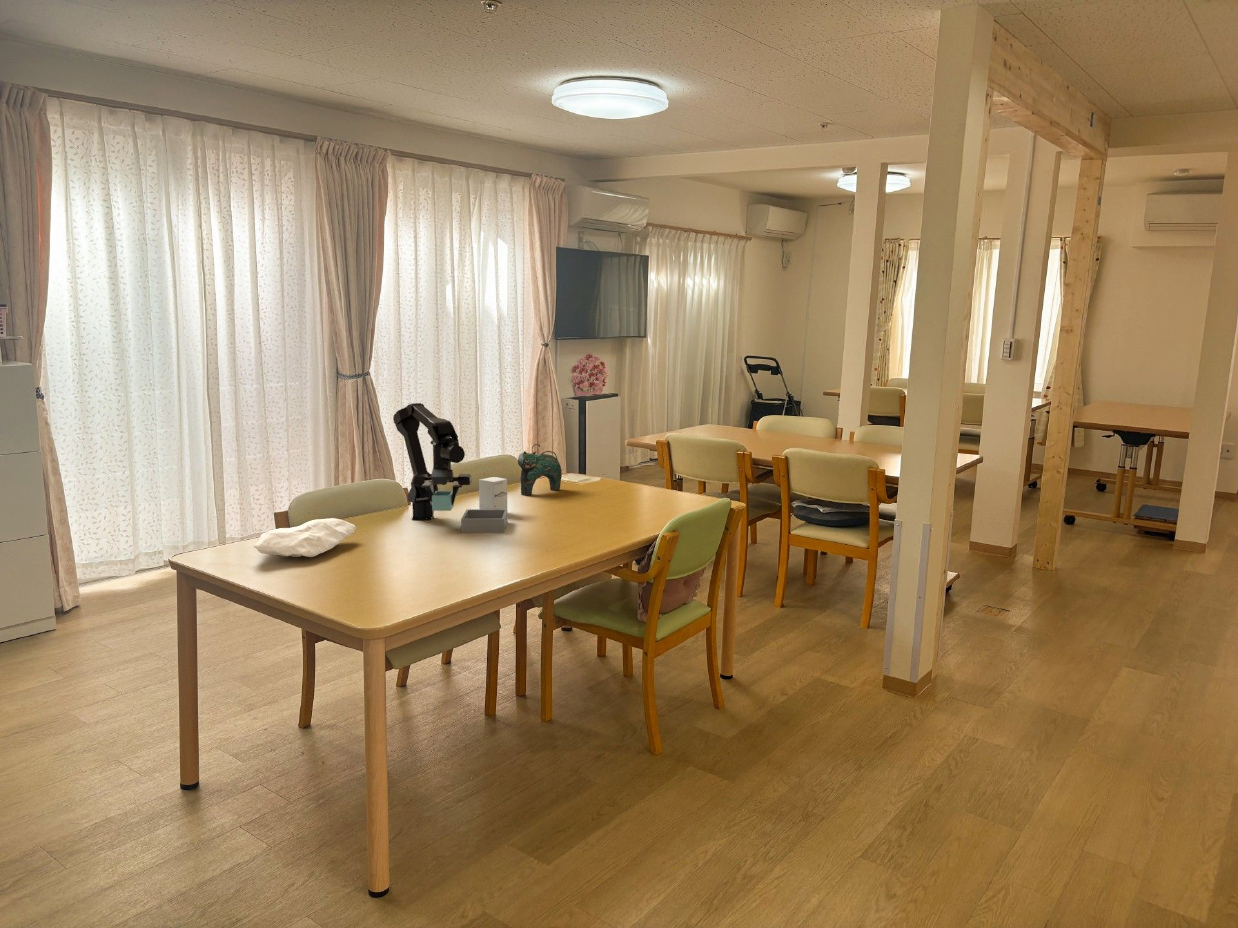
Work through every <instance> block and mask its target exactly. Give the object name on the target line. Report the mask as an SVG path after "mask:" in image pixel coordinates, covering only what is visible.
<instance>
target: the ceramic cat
mask: <svg viewBox="0 0 1238 928" xmlns="http://www.w3.org/2000/svg"><path fill="white" fill-rule="evenodd" d="M535 446H538V447H539V448H540V447H541V445H540V444H538V443H535V444H533V445H532V447H531V452H526V450H524V451H523V452H521V453H520V454H519V455H518V457H517V464H518V467H519V468H520V469H521V472H520V495H521V496H524V497H529V496H532V494H533V489H534V485H535V483H536V481H537V480H538V478H541V477H546V478H547V479H548V481H549V482H548V483H549V489H550V491H553V492H558V491H560V490H561V483H562V476H563V473H562V467H561V464H560V462H559V459H558V456H557V454H556V453H555V452H554V451H551V450H546V451H543V452H542V453H541V452H540V453H539V454H538V453H537V451H534V450H533V449H534V447H535ZM536 453H537V454H536ZM547 453H552V454H554V455H552V454H547Z"/></svg>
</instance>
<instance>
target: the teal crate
mask: <svg viewBox="0 0 1238 928" xmlns="http://www.w3.org/2000/svg"><path fill="white" fill-rule="evenodd" d="M452 493H453V490H438V491H435V493H434V494H433V495H432V511H434V512H438V511H439V512H443V511H445V512H451V511H452V509H453V507H455V503H454V504H453V505H452Z"/></svg>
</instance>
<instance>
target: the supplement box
mask: <svg viewBox="0 0 1238 928" xmlns="http://www.w3.org/2000/svg"><path fill="white" fill-rule="evenodd" d="M478 502H479V504H478V506H479V508H478V509H507V510H508V478H503V477H496V476H492V477H486V478H481V479H478Z"/></svg>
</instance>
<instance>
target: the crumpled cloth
mask: <svg viewBox="0 0 1238 928" xmlns="http://www.w3.org/2000/svg"><path fill="white" fill-rule="evenodd" d="M355 531H356V526H355V524H353V523H351V522H348V521H346V520H344V519H339V518H336V517H335V518H334V517H333V518H332V517H331V518H323V519H322V518H321V519H320V518H319V519H313V520H309V521H306V522H304V523H303V524H301V525H298V526H297V525H296V526H293V527H280V528H276V529H271V530H269V531H266V532H264V533H261V534H260V537H259V538H258V541H257V542H256V543H255V544H254V546H253V548H254V549H255V550H257V552H259V553H260V554H264V555H270V556H271V555H272V556H273V555H275V556H278V555H279V556H282V557H290V556H291V557H293V558H299V557H309V558H313V557H316V556H318V555H319V554H322V553H325V552H326V551H329V550H332V549H333V548H335V547H336V546H337V545H339V544H340V543H341V542H342V541H344V539H346V538H348V537H349V536H351V535H353V534H354V532H355Z"/></svg>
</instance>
